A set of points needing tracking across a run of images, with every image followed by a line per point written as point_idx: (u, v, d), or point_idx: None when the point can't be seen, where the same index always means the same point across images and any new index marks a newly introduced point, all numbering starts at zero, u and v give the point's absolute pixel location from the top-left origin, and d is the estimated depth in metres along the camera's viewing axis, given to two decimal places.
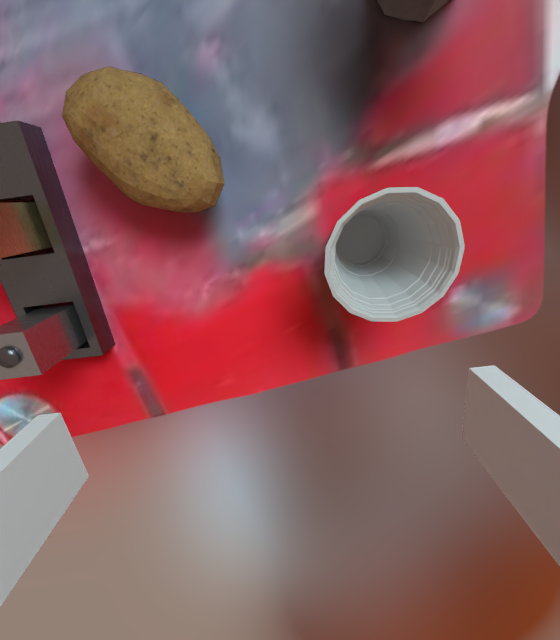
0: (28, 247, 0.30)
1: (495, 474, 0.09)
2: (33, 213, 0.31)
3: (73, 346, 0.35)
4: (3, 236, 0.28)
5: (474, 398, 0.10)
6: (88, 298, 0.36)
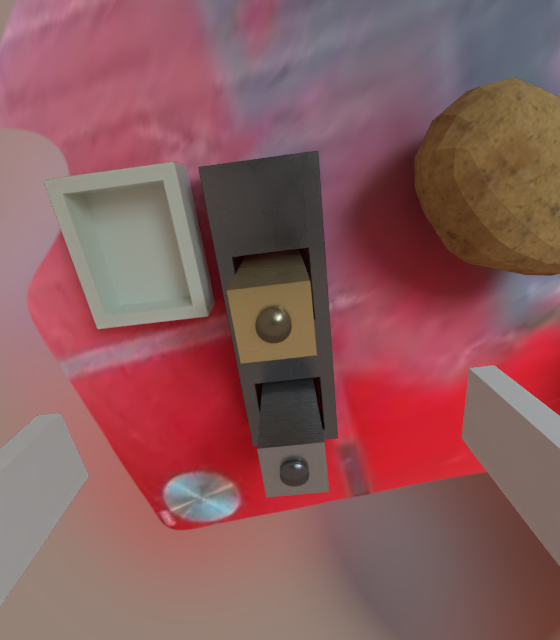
0: None
1: (495, 474, 0.09)
2: None
3: None
4: None
5: (475, 398, 0.10)
6: None
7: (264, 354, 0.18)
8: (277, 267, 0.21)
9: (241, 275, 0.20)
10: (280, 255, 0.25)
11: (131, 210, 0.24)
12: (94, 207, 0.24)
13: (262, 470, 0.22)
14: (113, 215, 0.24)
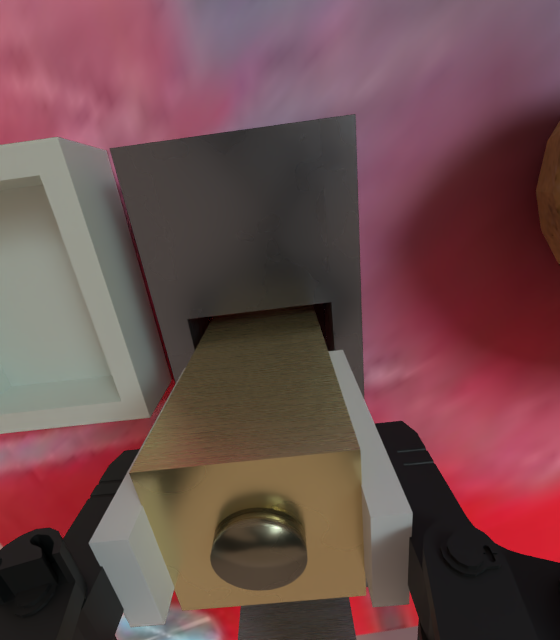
0: None
1: None
2: None
3: None
4: None
5: None
6: None
7: (238, 595, 0.08)
8: (271, 355, 0.10)
9: (192, 382, 0.09)
10: (278, 310, 0.14)
11: (10, 231, 0.14)
12: None
13: None
14: None
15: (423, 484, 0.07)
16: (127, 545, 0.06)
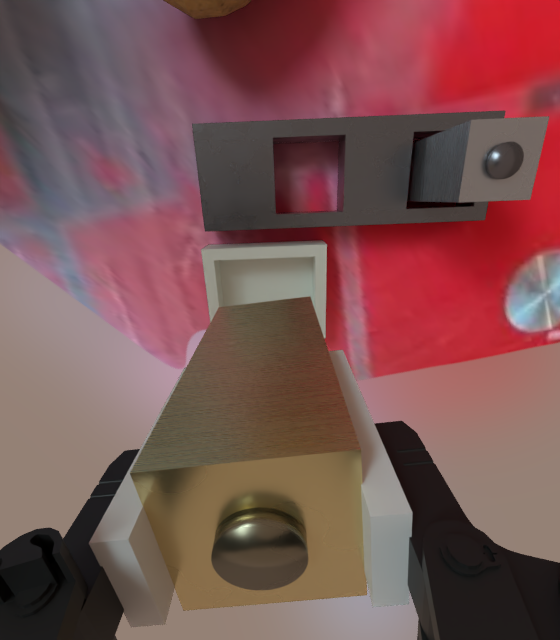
0: None
1: None
2: None
3: None
4: None
5: None
6: None
7: (239, 594, 0.08)
8: (272, 355, 0.10)
9: (192, 382, 0.09)
10: (278, 310, 0.14)
11: (238, 293, 0.32)
12: None
13: (489, 199, 0.20)
14: None
15: (423, 484, 0.07)
16: (127, 545, 0.06)
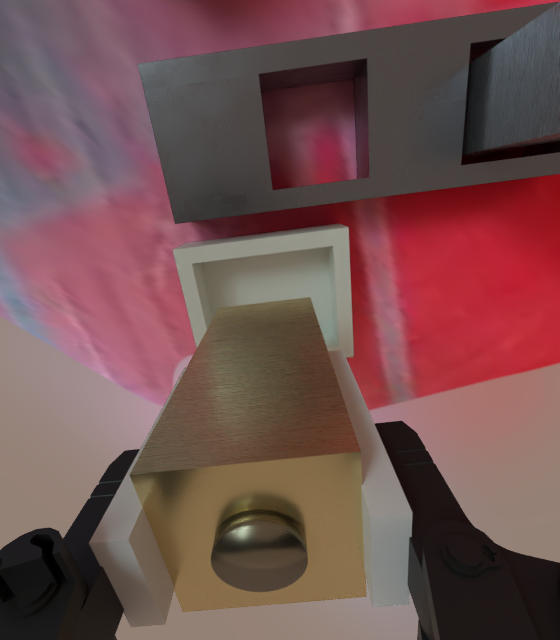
0: None
1: None
2: None
3: None
4: None
5: None
6: None
7: (239, 596, 0.08)
8: (271, 357, 0.10)
9: (192, 383, 0.09)
10: (278, 311, 0.14)
11: (232, 304, 0.24)
12: None
13: None
14: None
15: (423, 484, 0.07)
16: (127, 545, 0.06)
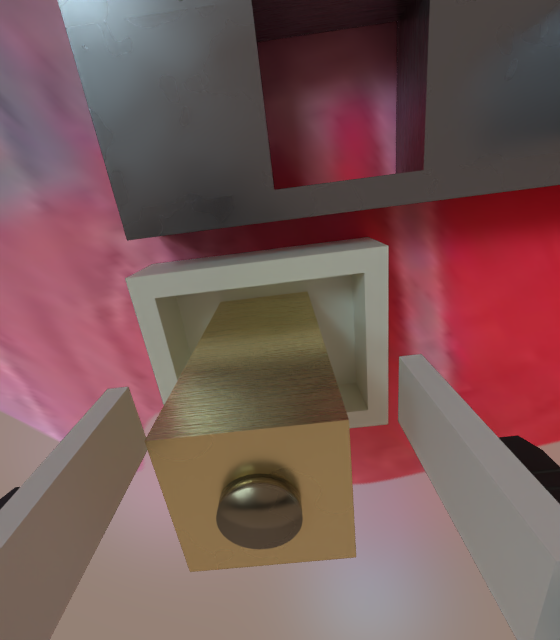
0: None
1: (417, 449, 0.10)
2: None
3: None
4: None
5: (403, 383, 0.11)
6: None
7: (241, 557, 0.08)
8: (270, 344, 0.11)
9: (198, 367, 0.10)
10: (277, 304, 0.15)
11: None
12: None
13: None
14: None
15: None
16: None
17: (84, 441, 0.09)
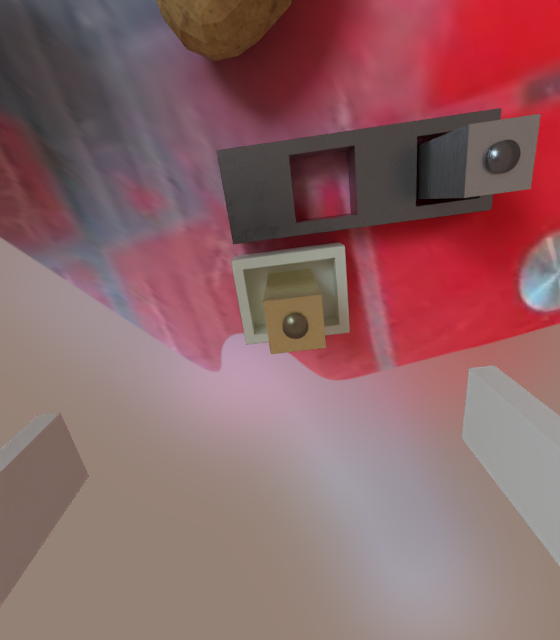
0: None
1: (495, 474, 0.09)
2: None
3: None
4: None
5: (474, 398, 0.10)
6: None
7: (288, 347, 0.26)
8: (295, 283, 0.28)
9: (270, 290, 0.27)
10: (296, 273, 0.32)
11: None
12: (264, 321, 0.35)
13: (492, 192, 0.22)
14: None
15: None
16: None
17: None
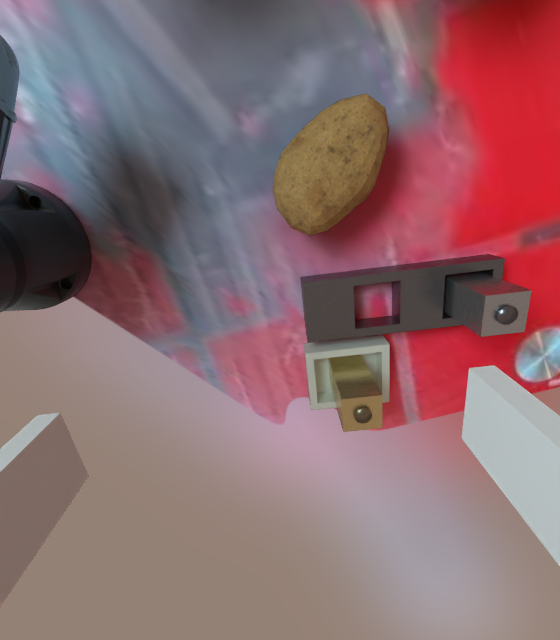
0: None
1: (495, 474, 0.09)
2: None
3: (492, 278, 0.36)
4: None
5: (474, 398, 0.10)
6: (442, 263, 0.38)
7: (356, 427, 0.37)
8: (357, 376, 0.39)
9: (340, 383, 0.38)
10: (351, 360, 0.43)
11: (325, 373, 0.45)
12: (322, 389, 0.46)
13: (499, 333, 0.33)
14: (326, 381, 0.46)
15: None
16: None
17: None
